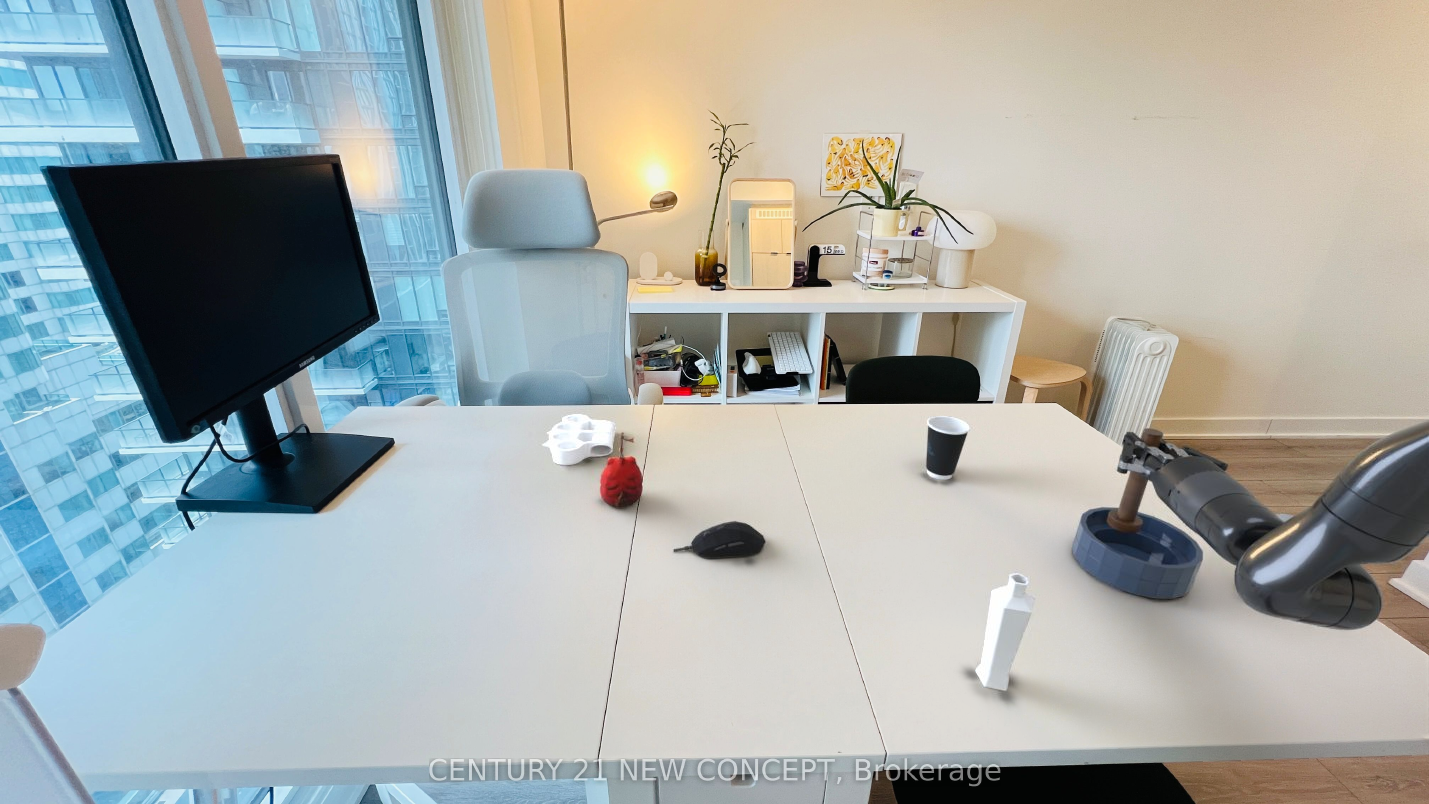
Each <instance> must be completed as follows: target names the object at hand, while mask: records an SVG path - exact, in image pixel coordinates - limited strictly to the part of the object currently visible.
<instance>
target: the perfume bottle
mask: <svg viewBox="0 0 1429 804" xmlns="http://www.w3.org/2000/svg"><path fill="white" fill-rule="evenodd" d="M1008 578H1009V579H1008V583H1007V585H1003V586H1000V587H997V588H994V589H992V590H991V592H990V601H989V607H988V614H987V621H986V628H985V635H984V641H983V648H982V653H981V654H982V655H981V661H980V663H979V665H978V666H977V667H976V669H975V673H976V675H977V677H978V678H979V680H980V682H981V683H982V685H983V686H984V687H985V688H988V689H993V690H994V689H995V690H998V691H1003V692H1006V691H1007V690H1008V687H1009V682H1010V671H1011V668H1012V666H1013V663H1014V660H1015V658H1016V655H1017V653H1018V651H1019V648H1020V645H1021V642H1022V640H1023V637H1024V635H1025V632H1026V629H1027V626H1028V624H1029V622H1030V619H1031V616H1032V613H1033V611H1034V604H1035V600H1036V598H1035V597H1034V596H1033V595H1031V594H1029V593H1027V592H1026V590H1027V588H1028V586H1029V584H1030V578H1029V577H1027V576H1025V575H1023V574H1021V573H1020V572H1013V573H1011V574H1008Z"/></svg>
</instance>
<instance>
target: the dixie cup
mask: <svg viewBox="0 0 1429 804" xmlns="http://www.w3.org/2000/svg"><path fill="white" fill-rule="evenodd" d="M926 424H927V441H926V460H925V468H926V474H927V475H928V476H929V477H931V478H933V479H936V480H942V481H945V480H946V481H947V480H950V479H951V478H952V477H953V475H954V474H955V472H956V469H957V466H958V463H959V460H960V457H961V455H962V451H963V449H964V445H965V442H966V439H967V436H968V433H969V432H970V431H971V425H970V424H969V423H967V422H966V421H965V420H962V419H960V418H957V417H952V416H947V415H936V416H931V417H929V418H928V419H927V420H926Z"/></svg>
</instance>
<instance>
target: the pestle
mask: <svg viewBox="0 0 1429 804" xmlns="http://www.w3.org/2000/svg"><path fill="white" fill-rule="evenodd" d="M1163 437H1164V432H1163V431H1161V430H1159V429H1156V428H1151V427H1150V428H1149V427H1147V428H1143V430H1142V433H1141V435H1140V439H1141V440H1143V441H1144V443H1145V444H1147V445H1148V446H1150V447H1157V448H1158V449H1159V446H1160V443H1161V440H1162V439H1163ZM1148 482H1149V480H1147V479H1145V478H1144V477H1142V476H1141V473H1140V472H1136V471H1129V474H1128V477H1127V480H1126V484H1125V487H1124V490H1123V493H1122V496H1121V499H1120V502H1119V506H1118V508H1119V509H1115V510H1111V511H1110V512H1109V514H1108V517H1107V523H1108V524H1109V525H1110V526H1111V527H1112V528H1114V529H1116V530H1119V531H1121V532H1125V533H1138V532H1139V531H1140V529H1141V527H1142V524H1143V521H1142V519H1141V518H1140V517H1139V516H1137V513H1138V512H1139V509H1140V506H1141V503H1142V500H1143V498H1144V495H1145V491H1146V489H1147V486H1148Z"/></svg>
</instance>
